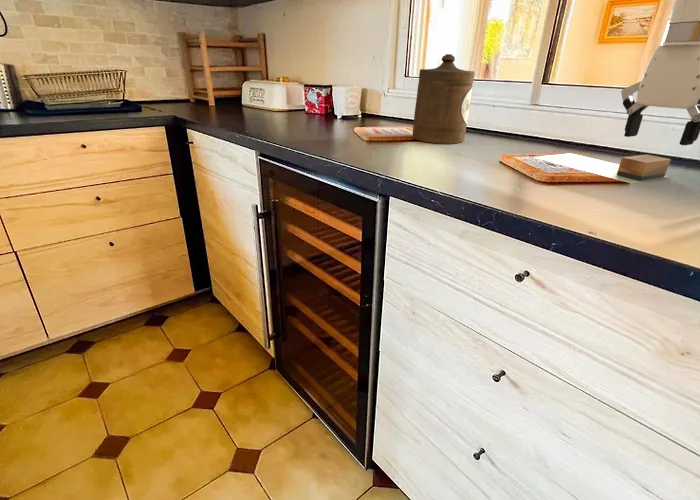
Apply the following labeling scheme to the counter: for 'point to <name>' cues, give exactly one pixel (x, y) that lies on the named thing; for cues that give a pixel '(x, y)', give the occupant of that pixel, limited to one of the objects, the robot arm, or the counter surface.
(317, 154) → the counter surface
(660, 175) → the eraser
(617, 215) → the counter surface
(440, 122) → the wooden container
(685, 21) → the robot arm
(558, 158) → the board
